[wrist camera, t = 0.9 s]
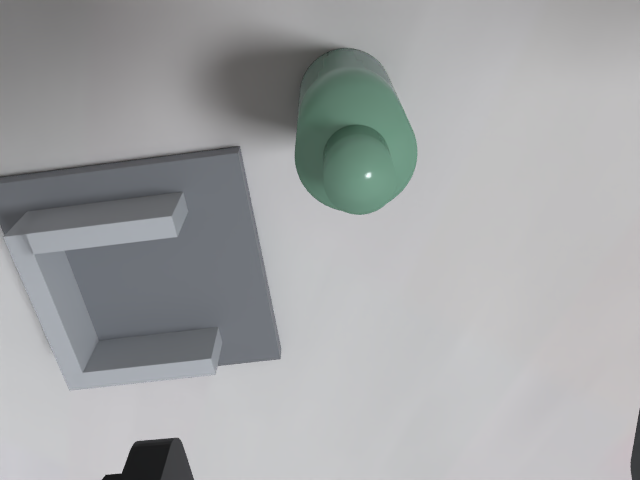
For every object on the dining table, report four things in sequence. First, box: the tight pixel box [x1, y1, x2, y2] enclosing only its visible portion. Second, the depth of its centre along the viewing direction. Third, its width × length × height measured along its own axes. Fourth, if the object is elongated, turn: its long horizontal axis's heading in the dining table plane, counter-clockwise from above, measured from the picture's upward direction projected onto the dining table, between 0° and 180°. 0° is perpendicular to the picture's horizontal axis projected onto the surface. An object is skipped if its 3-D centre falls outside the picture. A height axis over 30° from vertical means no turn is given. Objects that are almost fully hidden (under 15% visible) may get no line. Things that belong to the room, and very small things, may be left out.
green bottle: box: [295, 48, 417, 215], centre depth 27 cm, size 5×5×12 cm
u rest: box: [0, 147, 281, 391], centre depth 35 cm, size 14×14×4 cm
